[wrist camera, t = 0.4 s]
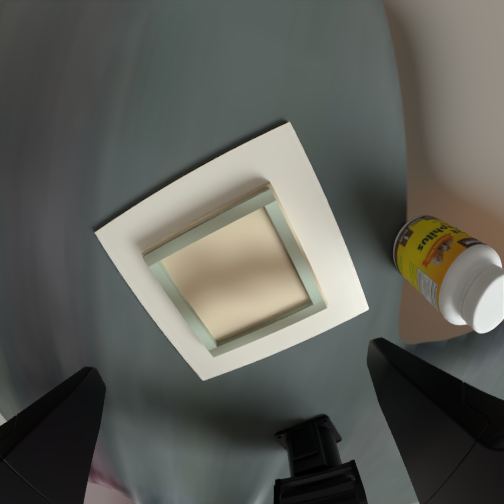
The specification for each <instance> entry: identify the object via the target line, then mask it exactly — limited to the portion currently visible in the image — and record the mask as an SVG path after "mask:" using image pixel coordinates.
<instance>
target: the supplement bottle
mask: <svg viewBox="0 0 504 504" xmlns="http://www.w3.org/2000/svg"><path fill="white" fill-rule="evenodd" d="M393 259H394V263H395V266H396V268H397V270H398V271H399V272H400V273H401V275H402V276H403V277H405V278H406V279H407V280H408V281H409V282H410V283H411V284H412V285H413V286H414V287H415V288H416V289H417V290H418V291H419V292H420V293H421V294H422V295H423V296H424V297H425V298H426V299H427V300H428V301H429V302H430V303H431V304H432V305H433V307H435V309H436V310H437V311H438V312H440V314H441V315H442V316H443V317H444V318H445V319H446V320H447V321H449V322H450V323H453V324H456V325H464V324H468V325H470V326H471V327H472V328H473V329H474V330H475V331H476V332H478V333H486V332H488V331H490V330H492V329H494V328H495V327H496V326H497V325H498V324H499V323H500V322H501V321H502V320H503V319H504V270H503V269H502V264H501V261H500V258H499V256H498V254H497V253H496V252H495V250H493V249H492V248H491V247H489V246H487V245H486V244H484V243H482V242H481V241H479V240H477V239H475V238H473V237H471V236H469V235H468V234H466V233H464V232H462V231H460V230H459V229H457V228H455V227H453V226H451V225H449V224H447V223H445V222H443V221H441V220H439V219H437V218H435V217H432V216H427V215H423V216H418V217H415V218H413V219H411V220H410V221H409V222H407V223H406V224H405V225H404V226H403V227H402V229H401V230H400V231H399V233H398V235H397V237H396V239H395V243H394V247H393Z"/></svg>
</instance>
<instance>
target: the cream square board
mask: <svg viewBox="0 0 504 504" xmlns="http://www.w3.org/2000/svg"><path fill="white" fill-rule="evenodd" d="M269 181H270V183H271V184H272V186H273V188H274V190H275V192H276V194H277V196H278V198H279V200H280V202H281V204H282V206H283V208H284V210H285V213H286V215H287V217H288V219H289V221H290V223H291V225H292V227H293V229H294V231H295V233H296V235H297V237H298V239H299V241H300V243H301V246H302V248H303V250H304V252H305V254H306V256H307V258H308V260H309V263H310V265H311V267H312V269H313V271H314V273H315V276H316V278H317V280H318V282H319V284H320V287H321V289H322V291H323V293H324V295H325V298H326V300H327V302H328V304H329V305H327V308H326V309H324V310H322V311H320V312H318V313H316V314H314V315H312V316H310V317H307V318H305V319H303V320H301V321H299V322H297V323H294V324H292V325H290V326H288V327H286V328H283V329H281V330H279V331H277V332H274V333H272V334H270V335H267V336H265V337H263V338H260V339H258V340H256V341H253V342H251V343H249V344H246V345H244V346H241V347H239V348H236V349H234V350H231V351H229V352H226V353H224V354H221V355H219V356H216V357H214V358H213V356H212V355H211V354H210V352H209V351H208V350H207V349H206V347H205V346H204V345H203V343H202V342H201V341H200V339H199V338H198V337H197V335H196V334H195V333H194V331H193V330H192V329H191V327H190V326H189V325H188V323H187V322H186V321H185V319H184V318H183V316H182V315H181V314H180V312H179V311H178V309H177V308H176V307H175V305H174V304H173V302H172V301H171V300H170V298H169V297H168V295H167V294H166V292H165V291H164V289H163V288H162V287H161V285H160V284H159V282H158V281H157V279H156V278H155V276H154V275H153V273H152V272H151V270H150V269H149V267H148V266H147V264H146V262H145V261H144V259H143V258H142V257H143V255H142V254H141V252H142V251H143V250H144V249H145V248H146V247H148V246H150V245H151V244H153V243H155V242H157V241H158V240H160V239H162V238H164V237H165V236H167V235H169V234H171V233H173V232H174V231H176V230H178V229H180V228H182V227H183V226H185V225H187V224H189V223H191V222H193V221H194V220H196V219H198V218H200V217H202V216H204V215H205V214H207V213H209V212H211V211H213V210H215V209H217V208H219V207H220V206H222V205H224V204H226V203H228V202H230V201H232V200H234V199H236V198H238V197H240V196H242V195H244V194H246V193H247V192H249V191H251V190H253V189H255V188H257V187H259V186H261V185H263V184H265V183H267V182H269ZM95 234H96V236H97V237H98V239H99V241H100V242H101V244H102V245H103V247H104V249H105V250H106V252H107V253H108V255H109V256H110V258H111V260H112V261H113V263H114V264H115V266H116V267H117V269H118V270H119V272H120V273H121V275H122V276H123V278H124V279H125V281H126V282H127V284H128V285H129V286H130V288H131V289H132V291H133V292H134V294H135V295H136V296H137V298H138V299H139V301H140V302H141V303H142V305H143V306H144V308H145V309H146V310H147V312H148V313H149V314H150V316H151V317H152V318H153V320H154V321H155V322H156V324H157V325H158V326H159V328H160V329H161V330H162V331H163V333H164V334H165V335H166V337H167V338H168V339H169V340H170V342H171V343H172V344H173V345H174V347H175V348H176V349H177V350H178V352H179V353H180V354H181V355H182V356H183V358H184V359H185V360H186V361H187V363H188V364H189V365H190V366H191V367H192V368H193V370H194V371H195V372H196V373H197V374H198V375H199V377H200V378H201V379H202V380H203V381H204V380H207V379H210V378H212V377H215V376H218V375H221V374H224V373H226V372H229V371H232V370H234V369H237V368H240V367H242V366H245V365H247V364H250V363H253V362H255V361H258V360H260V359H263V358H265V357H268V356H270V355H272V354H275V353H277V352H280V351H282V350H284V349H287V348H289V347H291V346H293V345H296V344H298V343H300V342H303V341H305V340H307V339H309V338H311V337H314V336H316V335H318V334H320V333H322V332H324V331H327V330H329V329H331V328H333V327H335V326H337V325H339V324H341V323H343V322H345V321H347V320H349V319H351V318H353V317H355V316H357V315H359V314H361V313H363V312H365V311H367V310H369V307H368V304H367V302H366V299H365V296H364V293H363V290H362V287H361V285H360V282H359V279H358V276H357V274H356V271H355V268H354V266H353V263H352V260H351V258H350V255H349V253H348V250H347V247H346V245H345V242H344V240H343V237H342V235H341V232H340V230H339V228H338V225H337V223H336V220H335V218H334V216H333V213H332V211H331V209H330V206H329V204H328V202H327V199H326V197H325V195H324V192H323V190H322V188H321V186H320V184H319V181H318V179H317V177H316V175H315V173H314V170H313V168H312V166H311V164H310V162H309V160H308V158H307V156H306V154H305V151H304V149H303V147H302V145H301V143H300V141H299V139H298V137H297V135H296V133H295V131H294V129H293V127H292V125H291V123H290V122H288V123H286V124H284V125H282V126H280V127H278V128H275V129H273V130H271V131H269V132H267V133H265V134H263V135H261V136H259V137H257V138H255V139H253V140H251V141H249V142H247V143H245V144H243V145H241V146H239V147H237V148H235V149H233V150H231V151H229V152H227V153H225V154H223V155H221V156H219V157H218V158H216V159H214V160H212V161H210V162H208V163H206V164H205V165H203V166H201V167H199V168H197V169H196V170H194V171H192V172H190V173H189V174H187V175H185V176H183V177H182V178H180V179H178V180H176V181H175V182H173V183H171V184H170V185H168V186H166V187H165V188H163V189H161V190H160V191H158V192H156V193H155V194H153V195H151V196H150V197H148V198H147V199H145V200H143V201H142V202H140V203H139V204H137V205H135V206H134V207H132V208H131V209H129V210H128V211H126V212H125V213H123V214H122V215H120V216H118V217H117V218H115V219H114V220H112V221H111V222H110V223H108V224H107V225H105V226H104V227H102V228H101V229H99V230H98V231H96V232H95Z"/></svg>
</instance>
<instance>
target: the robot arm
mask: <svg viewBox="0 0 504 504" xmlns="http://www.w3.org/2000/svg"><path fill="white" fill-rule="evenodd" d="M367 366H368V369H369V372H370V375H371V379H372V382H373V385H374V388H375V392H376V395H377V398H378V402H379V405H380V407H381V410H382V412H383V414H384V416H385V419H386V421H387V423H388V426H389V428H390V430H391V433H392V435H393V437H394V440H395V442H396V445H397V447H398V449H399V452H400V454H401V457H402V459H403V462H404V464H405V467H406V469H407V472H408V474H409V477H410V479H411V482H412V485H413V487H414V490H415V492H416V495H417V498H418V500H419V503H420V504H504V400H502V399H499V398H497V397H495V396H492V395H490V394H488V393H485V392H483V391H481V390H479V389H477V388H475V387H473V386H471V385H469V384H468V383H466V382H463V381H462V380H460V379H458V378H456V377H454V376H452V375H451V374H449V373H447V372H445V371H443V370H441V369H439V368H438V367H436V366H434V365H432V364H430V363H428V362H426V361H425V360H423V359H421V358H419V357H417V356H415V355H414V354H412V353H410V352H408V351H406V350H404V349H403V348H401V347H399V346H397V345H395V344H393V343H392V342H390V341H388V340H386V339H384V338H382V337H380V338H376V339H372V340H370V341H369V345H368V354H367ZM105 393H106V386H105V383H104V381H103V379H102V377H101V376H100V374H99V372H98V370H97V369H96V368H95V367H84V368H82V369H81V370H79V371H78V372H77V373H75V374H74V375H72V376H71V377H69V378H68V379H67V380H65V381H64V382H62V383H61V384H60V385H58V386H57V387H55V388H54V389H52V390H51V391H50V392H48V393H47V394H45V395H44V396H43V397H41V398H40V399H38V400H37V401H35V402H34V403H33V404H31V405H30V406H28V407H27V408H26V409H24V410H23V411H21V412H20V413H18V414H17V416H14V417H13V418H11V419H10V420H8V421H7V422H6V423H4V424H3V425H1V426H0V504H83V503H84V498H85V492H86V486H87V482H88V477H89V472H90V467H91V463H92V458H93V454H94V449H95V445H96V441H97V437H98V433H99V429H100V424H101V418H102V411H103V405H104V399H105ZM275 438H276V440H277V441H278V442H279V443H280V444H281V445H282V446H283V447H284V448H285V449H286V450H287V453H288V460H289V467H290V474H291V477H290V478H285V479H276V480H275V486H274V504H368V503H367V498H366V494H365V490H364V487H363V484H362V481H361V478H360V475H359V472H358V469H357V466H356V463H355V460H351V461H350V462H347V463H344V464H342V462H341V458H340V455H339V451H338V447H337V444H336V443H338V442H340V441H341V440H342V438H341V436H340V434H339V433H338V431H337V430H336V428H335V426H334V425H333V423H332V422H331V420H330V418H329V417H328V416H323V417H320V418H318V419H315V420H313V421H310V422H307V423H304V424H302V425H299V426H296V427H293V428H290V429H287V430H284V431H281V432H278V433H276V434H275Z"/></svg>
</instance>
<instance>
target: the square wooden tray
mask: <svg viewBox="0 0 504 504" xmlns="http://www.w3.org/2000/svg"><path fill="white" fill-rule="evenodd" d="M141 254H142V255H143V257H142V258H143V259H144V261H145V262H146V264H147V266H148V267H149V269H150V270H151V272H152V273H153V275H154V276H155V278H156V279H157V281H158V282H159V284H160V285H161V287H162V288H163V289H164V291H165V292H166V294H167V295H168V297H169V298H170V300H171V301H172V302H173V304H174V305H175V307H176V308H177V309H178V311H179V312H180V314H181V315H182V316H183V318H184V319H185V321H186V322H187V323H188V325H189V326H190V327H191V329H192V330H193V331H194V333H195V334H196V335H197V337H198V338H199V339H200V341H201V342H202V343H203V345H204V346H205V347H206V349H207V350H208V351H209V352H210V354H211V355H212V356H213V358H214V357H216V356H219V355H221V354H224V353H226V352H229V351H231V350H234V349H236V348H239V347H241V346H244V345H246V344H249V343H251V342H253V341H256V340H258V339H260V338H263V337H265V336H267V335H270V334H272V333H274V332H277V331H279V330H281V329H283V328H286V327H288V326H290V325H292V324H294V323H297V322H299V321H301V320H303V319H305V318H307V317H310V316H312V315H314V314H316V313H318V312H320V311H322V310H324V309H326V308H327V305H329V304H328V302H327V300H326V298H325V295H324V293H323V291H322V289H321V287H320V284H319V282H318V280H317V278H316V276H315V273H314V271H313V269H312V267H311V265H310V263H309V260H308V258H307V256H306V254H305V252H304V250H303V248H302V246H301V243H300V241H299V239H298V237H297V235H296V233H295V231H294V229H293V227H292V225H291V223H290V221H289V219H288V217H287V215H286V213H285V210H284V208H283V206H282V204H281V202H280V200H279V198H278V196H277V194H276V192H275V190H274V188H273V186H272V184H271V183H270V181H269V182H267V183H265V184H263V185H261V186H259V187H257V188H255V189H253V190H251V191H249V192H247V193H246V194H244V195H242V196H240V197H238V198H236V199H234V200H232V201H230V202H228V203H226V204H224V205H222V206H220V207H219V208H217V209H215V210H213V211H211V212H209V213H207V214H205V215H204V216H202V217H200V218H198V219H196V220H194V221H193V222H191V223H189V224H187V225H185V226H183V227H182V228H180V229H178V230H176V231H174V232H173V233H171V234H169V235H167V236H165V237H164V238H162V239H160V240H158V241H157V242H155V243H153V244H151V245H150V246H148V247H146V248H145V249H144V250H143V251H142V252H141Z"/></svg>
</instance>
